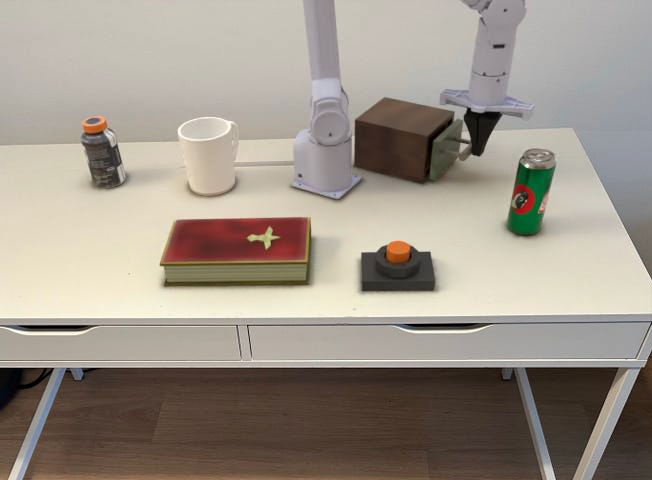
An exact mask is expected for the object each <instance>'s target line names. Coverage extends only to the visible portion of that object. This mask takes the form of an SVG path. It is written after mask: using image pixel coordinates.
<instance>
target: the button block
mask: <svg viewBox="0 0 652 480" xmlns="http://www.w3.org/2000/svg"><path fill="white" fill-rule="evenodd" d="M387 245H388V244H385V245H382V246H380V248H379V249H378V250H377V251H362V252H361V253H360V270H361V271H360V272H361V273H360V275H361V291H362V292H370V291H371V292H373V291H374V292H375V291H377V292H378V291H379V292H380V291H381V292H383V291H385V292H387V291H390V292H391V291H434V290H435V287H436V277H435V270H434V263H433V259H432V251H430V250H429V251H426V250H425V251H419V250H418V249H417V248H416V247H414V246H413V245H410V256H409V260H408V261H407V262H405V263H392V262H389V261H388V260H387V258H386V253H387Z"/></svg>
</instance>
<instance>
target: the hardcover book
mask: <svg viewBox="0 0 652 480" xmlns="http://www.w3.org/2000/svg"><path fill="white" fill-rule="evenodd" d="M311 219H312V218H311V216H292V217H291V216H290V217H289V216H288V217H286V216H285V217H284V216H283V217H282V216H281V217H243V218H242V217H239V218H238V217H237V218H234V217H231V218H230V217H229V218H188V219H187V218H185V219H183V218H182V219H173V222H172V225H171V227H170V232H169V233H168V237H167V240H166V243H165V246H164V250H163V252H162V256H161V258H160V261H159V267H163V269H164V274H165V280H164V283H163V284H164V287H193V286H194V287H197V286H199V287H201V286H203V287H204V286H282V285H283V286H287V285H289V286H292V285H293V286H295V285H302V286H303V285H309V284H310V269H311V268H310V267H311V250H312V220H311Z"/></svg>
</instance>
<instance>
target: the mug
mask: <svg viewBox="0 0 652 480" xmlns="http://www.w3.org/2000/svg"><path fill="white" fill-rule="evenodd" d="M232 132H233V133H232ZM177 137H178V141H179V145H180V149H181V155H182V157H183V163H184V167H185V171H186V175H187V179H188V185H189V188H190V190H191V191H192V192H193V193H195V194H196V195H199V196H203V197H214V196H220V195H223V194H226V193H227V192H229V191H231V189H233V188H234V186H235V184H236V173H235V162H236V159H237V153H238V150H239V149H238V148H239V141H240V131H239V127H238V125H237V123H236V122H234V121H232V120H227V119H224V118H221V117H217V116H206V117H204V116H203V117H197V118H194V119H190V120H188V121H185V122H184V123H183V124H181V125H180V126H179V127H178V129H177Z"/></svg>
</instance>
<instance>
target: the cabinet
mask: <svg viewBox="0 0 652 480" xmlns="http://www.w3.org/2000/svg"><path fill="white" fill-rule="evenodd" d="M455 113H456V111H454V110H449V109H445V108H440V107H435V106H430V105H426V104H420V103H416V102H410V101H406V100H401V99H397V98H392V97H388V96H387V97H386V96H384V97H383V98H381V99H380V100H378V101H377V102H375V104H373V105H372V106H371V107H369V108H368V109H367V110H366V111H364V112H363V113H361V114H360V115H359V116H358V117H356V118H355V119H354V141H353V142H354V147H353V148H354V150H353V151H354V153H353V154H354V155H353V157H354V158H353V162H354V163H353V166H354V167H357V168H361V169H364V170H368V171H373V172H376V173H380V174H384V175H387V176H390V177H391V176H392V177H394V178H395V177H396V178H398V179H403V180H406V181H410V182H414V183H419V184H421V185H424V183H426V182H427V181H428V180H429V177H430V168H429V169H428V170H427V171H426V166H427V155H428V145H429V138H430V137H432V136H433V135H434V134H435V133H436V132H437V131H438V130H439V129H440V128H441V127H443V126H444V125H445V124H446V123H447V122H448V125H447V128H448V127H449V126H450V125H451V124H452V123H453V122H454V121H455Z"/></svg>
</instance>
